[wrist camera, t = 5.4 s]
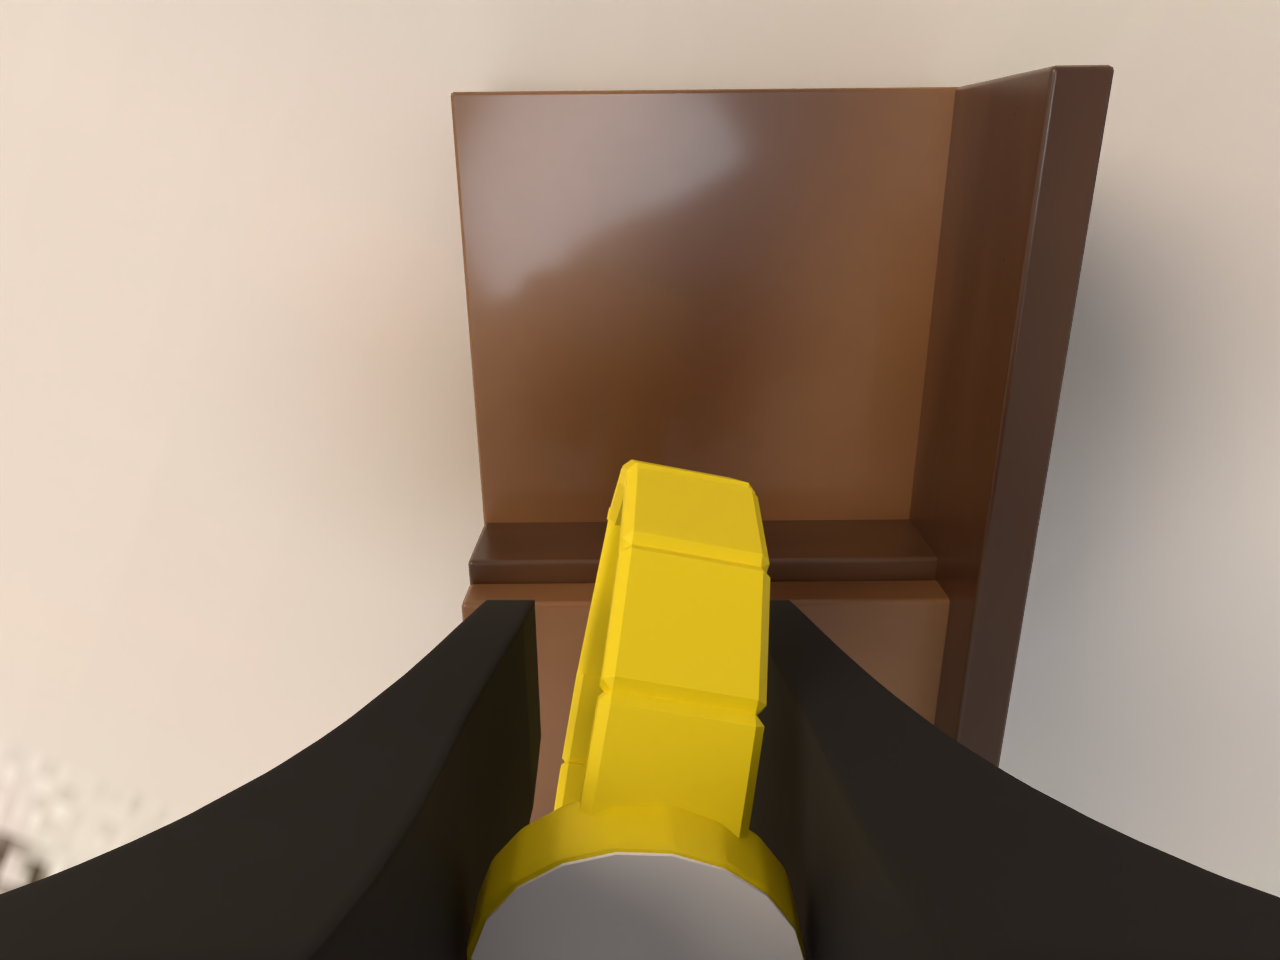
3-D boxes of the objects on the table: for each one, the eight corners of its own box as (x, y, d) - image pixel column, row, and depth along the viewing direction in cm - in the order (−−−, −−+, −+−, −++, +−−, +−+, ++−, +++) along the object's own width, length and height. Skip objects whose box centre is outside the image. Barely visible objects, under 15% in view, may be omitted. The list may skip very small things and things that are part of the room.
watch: (579, 389, 11) (522, 613, 6) (784, 428, 12) (921, 683, 6) (514, 759, 13) (425, 1188, 8) (688, 786, 14) (725, 1225, 8)
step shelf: (944, 98, 17) (1117, 64, 11) (873, 772, 22) (961, 1001, 16) (481, 102, 17) (392, 71, 11) (526, 774, 22) (484, 1004, 16)
